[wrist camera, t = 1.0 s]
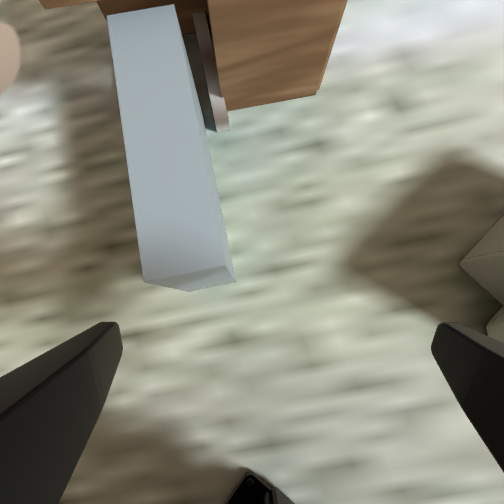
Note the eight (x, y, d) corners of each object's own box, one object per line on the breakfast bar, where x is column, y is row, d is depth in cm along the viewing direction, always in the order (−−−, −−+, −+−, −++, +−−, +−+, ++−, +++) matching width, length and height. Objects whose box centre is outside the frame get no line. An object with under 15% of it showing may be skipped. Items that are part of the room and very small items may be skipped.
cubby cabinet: (325, 112, 26) (391, -58, 14) (133, 147, 25) (24, 1, 13) (292, -1, 29) (323, -229, 16) (116, 28, 28) (11, -188, 16)
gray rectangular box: (236, 281, 23) (225, 265, 13) (177, 294, 23) (122, 286, 13) (202, 116, 26) (173, 4, 16) (150, 126, 26) (89, 18, 16)
